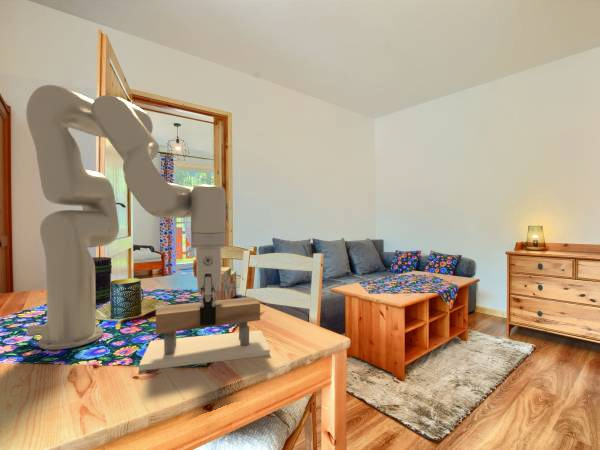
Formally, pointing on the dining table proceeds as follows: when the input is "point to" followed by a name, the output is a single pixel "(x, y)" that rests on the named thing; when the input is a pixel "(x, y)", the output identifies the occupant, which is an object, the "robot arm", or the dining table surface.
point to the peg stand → (204, 349)
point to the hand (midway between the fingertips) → (208, 318)
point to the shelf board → (189, 314)
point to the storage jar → (102, 278)
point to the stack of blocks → (227, 284)
